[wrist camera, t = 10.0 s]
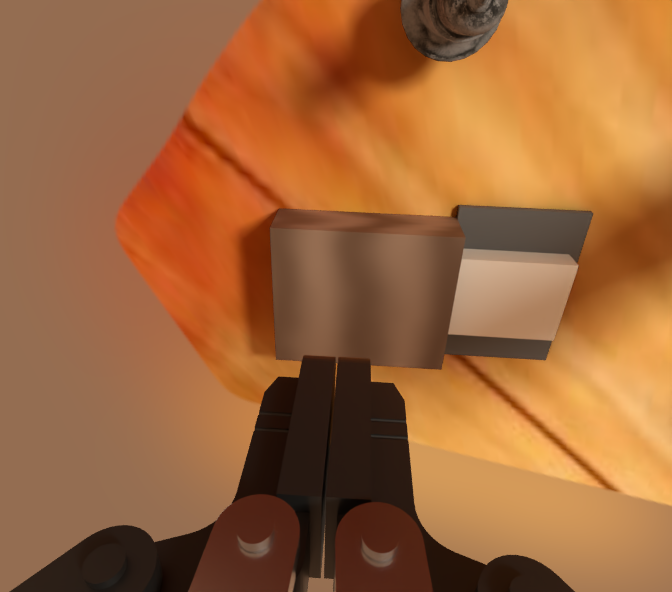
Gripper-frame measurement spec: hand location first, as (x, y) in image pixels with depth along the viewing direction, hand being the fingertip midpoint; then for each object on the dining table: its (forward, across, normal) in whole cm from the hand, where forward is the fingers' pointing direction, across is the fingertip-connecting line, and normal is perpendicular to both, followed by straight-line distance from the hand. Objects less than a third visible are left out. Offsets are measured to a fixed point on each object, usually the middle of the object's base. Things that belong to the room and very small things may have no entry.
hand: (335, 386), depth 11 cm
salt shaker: (+27, -5, -8) cm, 29 cm away
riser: (+27, -1, +12) cm, 30 cm away
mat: (+27, -13, +12) cm, 32 cm away
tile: (+26, -13, +12) cm, 32 cm away
